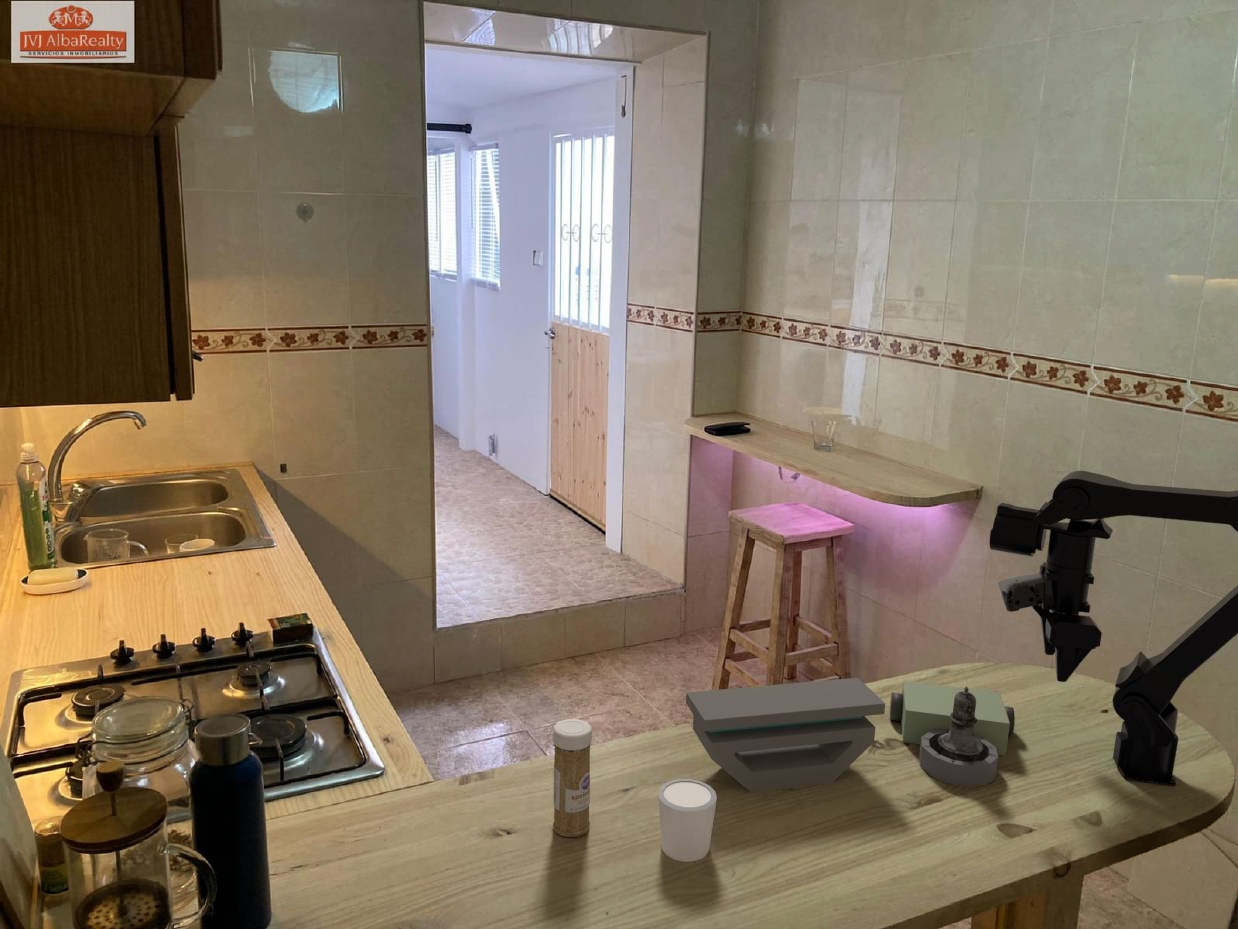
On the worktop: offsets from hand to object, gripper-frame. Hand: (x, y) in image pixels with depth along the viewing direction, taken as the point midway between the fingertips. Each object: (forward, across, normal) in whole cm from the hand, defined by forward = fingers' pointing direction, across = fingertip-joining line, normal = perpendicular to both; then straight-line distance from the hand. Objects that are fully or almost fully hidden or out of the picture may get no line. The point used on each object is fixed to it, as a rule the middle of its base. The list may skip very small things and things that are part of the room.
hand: (1054, 667), depth 137 cm
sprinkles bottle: (+12, +38, -60) cm, 72 cm away
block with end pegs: (+12, +5, -13) cm, 18 cm away
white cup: (+12, +38, -46) cm, 61 cm away
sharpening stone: (+12, +18, -36) cm, 42 cm away
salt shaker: (+12, +10, -13) cm, 20 cm away
